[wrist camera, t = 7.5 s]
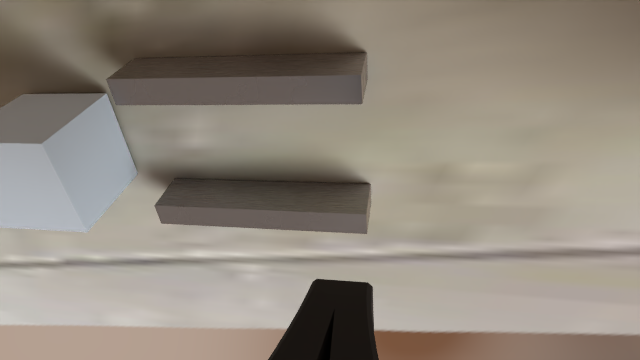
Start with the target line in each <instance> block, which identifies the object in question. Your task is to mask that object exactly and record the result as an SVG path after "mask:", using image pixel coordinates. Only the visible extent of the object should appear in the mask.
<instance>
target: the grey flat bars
mask: <svg viewBox="0 0 640 360" xmlns="http://www.w3.org/2000/svg"><path fill="white" fill-rule="evenodd" d="M106 80H107V83H108V85H109V88H110V91H111V93H112V96H113V98H114V101H115V104H116V105H255V104H362V103H363V98H364V93H365V89H366V84H367V53H330V54H292V55H253V56H214V57H176V58H137V59H133V60H132V61H130V62H129V63H128V64H126V65H125V66H124V67H122V68H121V69H120V70H118V71H117V72H115V73H114V74H113V75H111V76H110V77H109V78H107V79H106ZM370 207H371V184H345V183H311V182H278V181H244V180H210V179H176V178H175V179H174V180H173V181H172V183H171V184H170V185H169V187H168V188H167V189H166V191H165V192H164V194H163V195H162V196H161V198H160V199H159V200H158V202H157V203H156V204H155V208H156V211H157V213H158V216H159V219H160V221H161V223H163V224H183V225H202V226H222V227H242V228H262V229H281V230H301V231H321V232H341V233H360V234H367V230H368V223H369V215H370Z"/></svg>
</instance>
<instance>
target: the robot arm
mask: <svg viewBox="0 0 640 360" xmlns="http://www.w3.org/2000/svg"><path fill="white" fill-rule="evenodd" d="M268 360H379V359H378V354H377V349H376V343H375V336H374V319H373V287H372V286H371V285H370V284H369V283H366V282H352V281H338V280H324V279H316V280H315V281H313V282H312V284H311V287H310V289H309V291H308V293H307V295H306V297H305V299H304V301H303V303H302V304H301V306H300V308H299V310H298V312H297V314H296V315H295V317H294V319H293V320H292V322H291V324H290V326H289V327H288V329H287V331H286V332H285V334H284V336H283V337H282V339H281V340H280V342H279V343H278V345H277V347H276V349H275V350H274V352H273V353H272V355H271V356H270V358H269V359H268Z"/></svg>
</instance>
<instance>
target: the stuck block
mask: <svg viewBox="0 0 640 360" xmlns="http://www.w3.org/2000/svg"><path fill="white" fill-rule="evenodd" d="M137 174H138V173H137V170H136V167H135V165H134V162H133V160H132V157H131V155H130V152H129V150H128V147H127V144H126V142H125V139H124V137H123V134H122V132H121V129H120V126H119V124H118V121H117V119H116V116H115V114H114V111H113V108H112V106H111V103H110V101H109V98H108V96H107V93H87V94H22V95H21V96H19V97H17V98H16V99H14V100H12V101H11V102H9V103H8V104H6V105H4V106H3V107H1V108H0V227H2V228H20V229H38V230H55V231H73V232H88V231H89V230H90V229H91V227H92V226H93V225H94V224H95V223H96V222H97V220H98V219H99V218H100V217H101V216H102V215H103V214H104V212H105V211H106V210H107V209H108V208H109V207H110V205H111V204H112V203H113V202H114V201H115V200H116V199H117V197H118V196H119V195H120V194H121V193H122V192H123V190H124V189H125V188H126V187H127V186H128V185H129V184H130V182H131V181H132V180H133V179H134V178H135V177H136V175H137Z"/></svg>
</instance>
